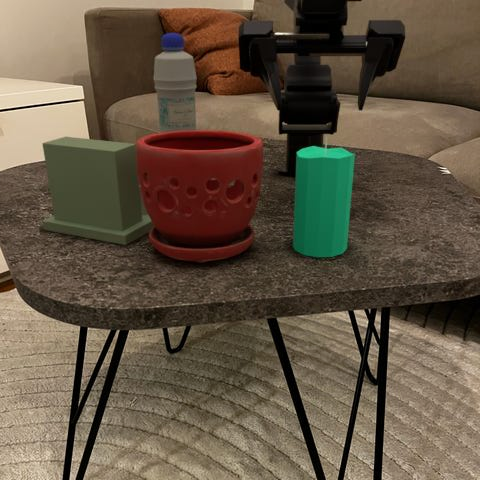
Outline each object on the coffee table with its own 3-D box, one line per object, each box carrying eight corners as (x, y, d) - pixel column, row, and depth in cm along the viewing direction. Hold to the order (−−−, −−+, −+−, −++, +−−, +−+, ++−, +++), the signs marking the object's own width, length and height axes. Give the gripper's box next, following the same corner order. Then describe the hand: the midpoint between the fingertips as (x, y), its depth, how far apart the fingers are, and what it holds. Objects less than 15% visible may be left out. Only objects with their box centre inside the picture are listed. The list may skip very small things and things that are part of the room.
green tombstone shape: (130, 191, 86) (123, 118, 81) (202, 201, 81) (200, 124, 76) (43, 230, 71) (29, 144, 66) (126, 245, 67) (116, 154, 62)
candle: (345, 259, 63) (355, 144, 57) (289, 255, 64) (293, 141, 58) (348, 239, 68) (357, 132, 62) (296, 236, 69) (300, 130, 63)
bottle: (168, 173, 94) (159, 34, 85) (153, 164, 100) (143, 32, 90) (206, 168, 97) (202, 32, 87) (190, 159, 102) (184, 31, 93)
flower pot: (278, 261, 62) (281, 146, 57) (154, 276, 59) (145, 155, 53) (242, 222, 73) (242, 122, 68) (136, 233, 70) (127, 129, 64)
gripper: (238, -64, 64) (234, 57, 59) (413, -65, 63) (422, 57, 58) (241, 16, 74) (238, 124, 70) (391, 16, 73) (397, 124, 69)
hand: (320, 108), depth 67 cm, fingers open, 9 cm apart
